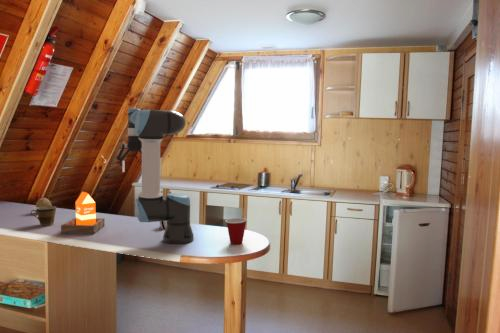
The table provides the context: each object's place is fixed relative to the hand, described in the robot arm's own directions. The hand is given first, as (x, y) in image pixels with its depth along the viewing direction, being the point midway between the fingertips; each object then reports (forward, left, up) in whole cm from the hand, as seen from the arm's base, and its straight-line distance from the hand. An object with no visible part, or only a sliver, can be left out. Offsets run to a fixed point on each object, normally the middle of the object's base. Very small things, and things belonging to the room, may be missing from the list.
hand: (135, 172), depth 238 cm
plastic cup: (-41, -59, -30) cm, 78 cm away
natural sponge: (+24, +65, -30) cm, 75 cm away
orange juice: (-18, +22, -29) cm, 41 cm away
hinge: (-7, -21, -30) cm, 38 cm away
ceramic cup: (-8, +50, -30) cm, 59 cm away
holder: (-18, +24, -30) cm, 42 cm away
